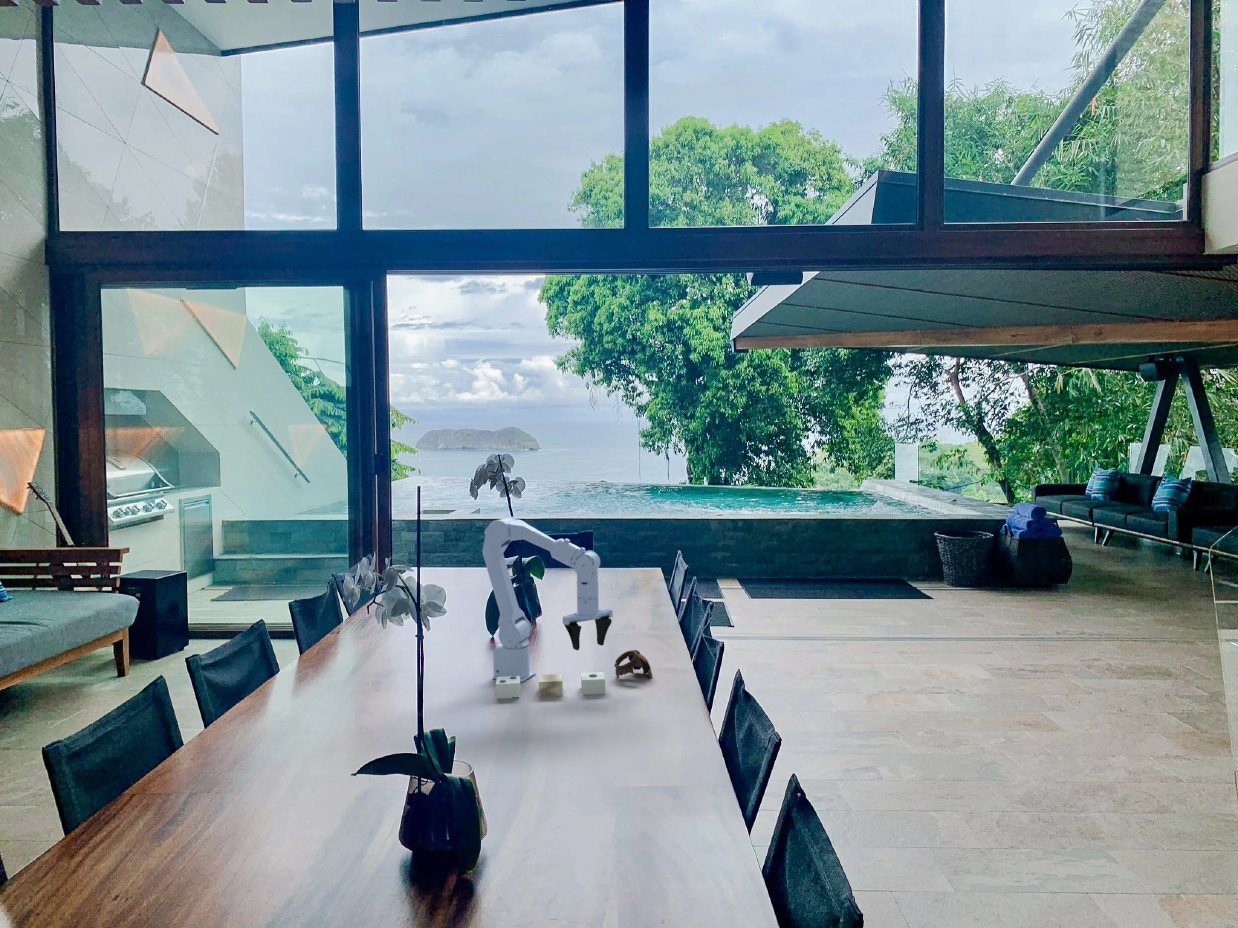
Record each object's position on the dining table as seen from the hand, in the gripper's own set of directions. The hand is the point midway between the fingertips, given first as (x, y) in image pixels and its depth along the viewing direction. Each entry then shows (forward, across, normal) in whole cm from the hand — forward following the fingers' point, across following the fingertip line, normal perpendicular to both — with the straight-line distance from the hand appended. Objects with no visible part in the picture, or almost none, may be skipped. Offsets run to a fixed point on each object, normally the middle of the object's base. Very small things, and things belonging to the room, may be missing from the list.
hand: (588, 646), depth 229 cm
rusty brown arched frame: (+10, +13, -3) cm, 16 cm away
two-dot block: (+10, -22, +4) cm, 24 cm away
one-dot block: (+10, -3, -6) cm, 12 cm away
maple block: (+10, -12, -1) cm, 16 cm away
